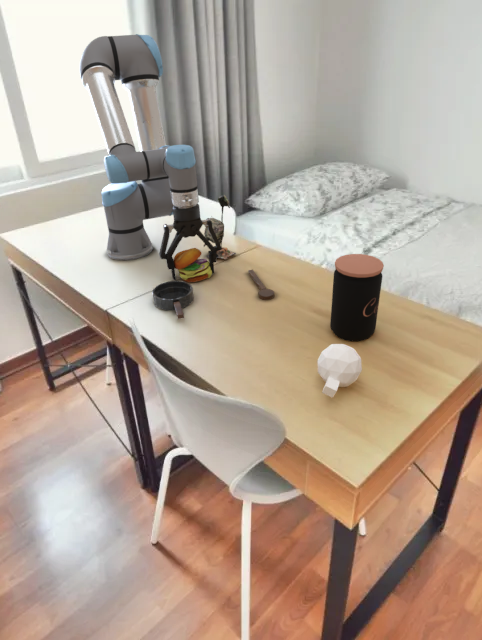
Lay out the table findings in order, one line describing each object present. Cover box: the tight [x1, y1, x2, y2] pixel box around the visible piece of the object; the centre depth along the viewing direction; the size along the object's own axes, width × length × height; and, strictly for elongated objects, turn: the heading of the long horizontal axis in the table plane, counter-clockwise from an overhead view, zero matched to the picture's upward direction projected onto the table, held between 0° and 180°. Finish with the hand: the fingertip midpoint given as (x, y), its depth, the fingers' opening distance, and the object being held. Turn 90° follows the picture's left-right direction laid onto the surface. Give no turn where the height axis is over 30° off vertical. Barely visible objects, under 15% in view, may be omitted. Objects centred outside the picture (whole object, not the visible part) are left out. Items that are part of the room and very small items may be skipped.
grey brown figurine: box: [203, 194, 237, 260], centre depth 149 cm, size 8×11×20 cm
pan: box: [151, 280, 195, 311], centre depth 128 cm, size 11×11×4 cm
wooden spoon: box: [248, 269, 275, 301], centre depth 134 cm, size 17×4×1 cm, turn 16°
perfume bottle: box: [316, 343, 363, 398], centre depth 93 cm, size 9×9×12 cm
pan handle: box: [173, 301, 185, 320], centre depth 120 cm, size 7×2×3 cm, turn 16°
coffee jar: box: [329, 253, 385, 343], centre depth 107 cm, size 11×11×18 cm
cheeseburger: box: [173, 247, 213, 283], centre depth 139 cm, size 10×11×10 cm
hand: (193, 275), depth 141 cm, fingers closed on cheeseburger, 11 cm apart
